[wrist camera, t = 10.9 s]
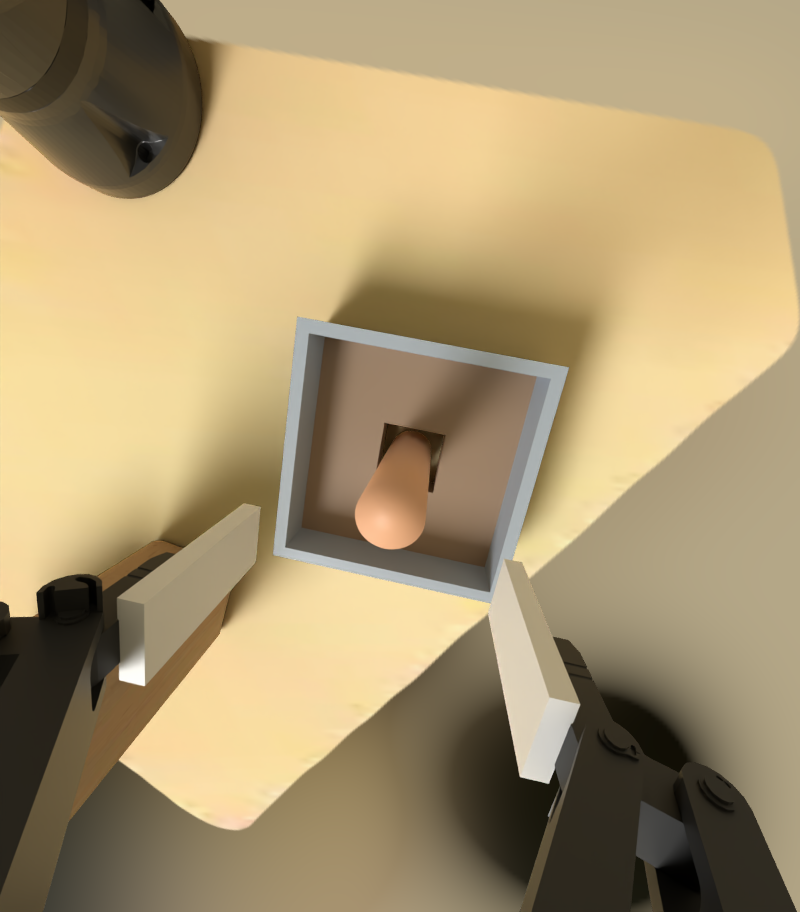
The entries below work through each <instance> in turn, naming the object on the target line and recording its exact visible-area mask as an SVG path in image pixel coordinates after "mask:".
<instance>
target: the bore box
mask: <svg viewBox="0 0 800 912" xmlns="http://www.w3.org/2000/svg"><path fill="white" fill-rule="evenodd" d="M568 369H569V367H564V366H559V365H554V364H548V363H543V362H538V361H532V360H527V359H521V358H516V357H511V356H505V355H500V354H495V353H489V352H484V351H479V350H473V349H468V348H462V347H457V346H452V345H446V344H441V343H436V342H430V341H425V340H420V339H414V338H409V337H403V336H398V335H393V334H387V333H382V332H377V331H371V330H366V329H361V328H355V327H350V326H344V325H339V324H334V323H328V322H323V321H318V320H312V319H307V318H302V317H297V325H296V335H295V344H294V354H293V364H292V374H291V383H290V393H289V403H288V413H287V423H286V432H285V442H284V452H283V462H282V471H281V481H280V491H279V501H278V510H277V520H276V530H275V540H274V549H273V555H275V556H279V557H284V558H288V559H293V560H297V561H302V562H306V563H311V564H315V565H320V566H324V567H329V568H333V569H338V570H342V571H347V572H351V573H356V574H360V575H365V576H369V577H374V578H378V579H383V580H387V581H392V582H397V583H401V584H406V585H410V586H415V587H419V588H424V589H428V590H433V591H437V592H442V593H446V594H451V595H455V596H460V597H464V598H469V599H473V600H478V601H482V602H487V603H491V601H492V598H493V594H494V591H495V588H496V584H497V581H498V577H499V574H500V570H501V567H502V563H503V560H504V559H508V560H512V559H513V556H514V553H515V549H516V546H517V542H518V539H519V536H520V532H521V529H522V525H523V522H524V519H525V515H526V512H527V508H528V505H529V502H530V498H531V495H532V492H533V488H534V485H535V481H536V478H537V475H538V471H539V468H540V464H541V461H542V458H543V454H544V451H545V447H546V444H547V441H548V437H549V434H550V430H551V427H552V424H553V420H554V417H555V414H556V410H557V407H558V403H559V400H560V397H561V393H562V390H563V386H564V383H565V380H566V376H567V373H568ZM388 424H393V425H398V426H403V427H408V428H413V429H418V430H423V431H428V432H433V433H438V434H443V435H444V437H443V442H442V446H441V451H440V455H439V460H438V465H437V469H436V474H435V478H434V483H433V482H429V487H428V498H427V510H426V521H425V526H424V529H423V532H422V533H421V535H420V536H419V538H418V539H417V540H416V541H415V542H413V543H412V544H410V545H409V546H407V547H404V548H400V549H384V548H380V547H378V546H375V545H373V544H372V543H370V542H369V541H367V540H366V539H365V538H364V537H363V535H362V534H361V533H360V531H359V529H358V527H357V524H356V520H355V509H356V505H357V502H358V500H359V499H360V497H361V495H362V493H363V492H364V490H365V488H366V487H367V485H368V483H369V481H370V480H371V478H372V476H373V474H374V473H375V471H376V469H377V468H378V466H379V464H380V462H381V460H382V454H383V448H384V443H385V437H386V431H387V426H388Z"/></svg>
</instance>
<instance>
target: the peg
mask: <svg viewBox="0 0 800 912" xmlns="http://www.w3.org/2000/svg"><path fill="white" fill-rule="evenodd" d="M430 463H431V445H430V442H429V441H428V439H427V438H426V437H425V436H424V435H423V434H421V433H419V432H416V431H405V432H402V433H400V434H399V435H397V436H396V437H395V439H394V440H393V442H392V443H391V445H390V447H389V449H388V450H387V452H386V454H385V456H384V457H383V459H382V461H381V462H380V464H379V466H378V468H377V469H376V471H375V473H374V474H373V476H372V478H371V480H370V481H369V483H368V485H367V487H366V488H365V490H364V492H363V493H362V495H361V497H360V499H359V500H358V502H357V505H356V509H355V520H356V524H357V527H358V529H359V531H360V533H361V534H362V535H363V537H364V538H365V539H366V540H367V541H369V542H370V543H372V544H373V545H375V546H378V547H380V548H384V549H400V548H404V547H407V546H409V545H410V544H412V543H413V542H415V541H416V540H417V539H418V538H419V536H420V535H421V533H422V532H423V529H424V526H425V521H426V510H427V498H428V487H429V475H430Z"/></svg>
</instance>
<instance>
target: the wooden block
mask: <svg viewBox="0 0 800 912" xmlns="http://www.w3.org/2000/svg"><path fill="white" fill-rule="evenodd" d="M182 549H183V548H182V547H179V546H176V545H173V544H171V543H168V542H165V541H159V540H157V541H153V542H151V543H149V544H148V545H146V546H145V547H143V548H141V549H140V550H138V551H137V552H135V553H134V554H132V555H130V556H129V557H127V558H126V559H124V560H122V561H121V562H119V563H118V564H116V565H114V566H113V567H111V568H110V569H108V570H107V571H105V572H103V573H102V574H100V575H99V576H97V577H99V578H100V579H101V580H102V590H103V591H104V590H105V589H107V588H108V587H110V586H111V585H113V584H114V583H116V582H117V581H118V580H120V579H121V578H123V577H124V576H127V575H128V574H129V573H130V572H131V571H133V570H134V569H137V568H138V567H139V566H140V565H141V564H143V563H144V562H146V561H147V560H149V559H150V558H152V557H155V556H158V555H160V554H163V553H165V552H169V553H173V554H176V553H178V552H179V551H180V550H182ZM229 595H230V592H229V593H228V594H227V595H226V596H225V597H224V598H223V599H222V601H221V602H220V603H219V604H218V605H217V606H216V607H215V608H214V610H213V611H212V612H211V613H210V614H209V615H208V616H207V617H206V618H205V620H204V621H203V622H202V623H201V624H200V625H199V626H198V627H197V629H196V630H195V631H194V632H193V633H192V634H191V635H190V636H189V638H188V639H187V640H186V641H185V642H184V643H183V644H182V645H181V646H180V648H179V649H178V650H177V651H176V652H175V653H174V654H173V655H172V657H171V658H170V659H169V660H168V661H167V662H166V663H165V664H164V665H163V667H162V668H161V669H160V670H159V671H158V672H157V673H156V674H155V676H154V677H153V678H152V679H151V680H150V681H149V682H148V683H147V684H146V686H142V685H137V684H133V683H129V682H125V681H121V680H119V664H118V665H117V666H116V667H115V668H114V669H113V670H112V671H111V672H110V673H109V674H108V675H107V676H106V690H105V694H104V697H103V701H102V704H101V708H100V711H99V715H98V718H97V722H96V725H95V729H94V733H93V736H92V740H91V743H90V747H89V750H88V754H87V757H86V761H85V765H84V768H83V772H82V775H81V779H80V782H79V786H78V789H77V793H76V796H75V800H74V804H73V807H72V811H71V814H70V818H69V820H70V819H71V818H72V817H73V816H74V814H75V813H76V812H77V810H78V809H79V808H80V807H81V806H82V804H83V803H84V802H85V801H86V799H87V798H88V797H89V796H90V794H91V793H92V792H93V791H94V789H95V788H96V787H97V785H98V784H99V783H100V782H101V781H102V779H103V778H104V777H105V776H106V774H107V773H108V772H109V771H110V769H111V768H112V767H113V766H114V765H115V763H116V762H117V761H118V760H119V758H120V757H121V756H122V755H123V753H124V752H125V751H126V750H127V748H128V747H129V746H130V745H131V743H132V742H133V741H134V740H135V738H136V737H137V736H138V735H139V733H140V732H141V731H142V730H143V729H144V727H145V726H146V725H147V724H148V722H149V721H150V720H151V719H152V717H153V716H154V715H155V714H156V712H157V711H158V710H159V709H160V707H161V706H162V705H163V704H164V702H165V701H166V700H167V699H168V697H169V696H170V695H171V694H172V692H173V691H174V690H175V689H176V688H177V686H178V685H179V684H180V683H181V681H182V680H183V679H184V678H185V676H186V675H187V674H188V673H189V671H190V670H191V669H192V668H193V666H194V665H195V664H196V663H197V661H198V660H199V659H200V658H201V656H202V655H203V654H204V653H205V651H206V650H207V649H208V648H209V647H210V645H211V644H212V643H213V642H214V640H215V639H216V638H217V637H218V635H219V634H220V630H221V626H222V622H223V618H224V614H225V610H226V607H227V603H228V599H229ZM33 617H39V615H38V614H37V615H35V616H33Z"/></svg>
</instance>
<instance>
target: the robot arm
mask: <svg viewBox="0 0 800 912" xmlns="http://www.w3.org/2000/svg"><path fill="white" fill-rule="evenodd" d="M201 115H202V94H201V84H200V79H199V74H198V69H197V66H196V62H195V59H194V56H193V53H192V51H191V48H190V46H189V44H188V42H187V40H186V38H185V36H184V34H183V32H182V31H181V29H180V27H179V26H178V24H177V23H176V21H175V20H174V18H173V17H172V16H171V15H170V13H169V12H168V11H167V10H166V8H165V7H164V6H163V4H162V3H161V2H160V1H159V0H0V116H1V117H2V118H3V119H4V120H5V121H6V122H8V123H9V124H10V125H11V126H12V127H13V128H14V129H15V130H16V131H17V132H18V133H19V134H21V135H22V136H23V137H24V138H25V139H26V140H27V141H28V142H29V143H30V144H31V145H33V146H34V147H35V148H36V149H37V150H38V151H39V152H40V153H41V154H42V155H44V156H45V157H46V158H47V159H48V160H49V161H50V162H51V163H52V164H53V165H55V166H56V167H57V168H58V169H60V170H61V171H62V172H64V173H65V174H67V175H68V176H70V177H71V178H73V179H75V180H77V181H79V182H81V183H83V184H85V185H87V186H89V187H91V188H93V189H95V190H97V191H99V192H101V193H103V194H106V195H109V196H113V197H117V198H126V199H133V198H141V197H145V196H149V195H152V194H154V193H156V192H158V191H160V190H162V189H163V188H165V187H166V186H168V185H169V184H170V183H171V182H172V181H173V180H174V179H175V178H176V177H177V176H178V175H179V174H180V173H181V172H182V170H183V169H184V167H185V166H186V164H187V162H188V161H189V159H190V157H191V155H192V153H193V150H194V148H195V145H196V142H197V138H198V135H199V130H200V124H201ZM260 509H261V507H259V506H255V505H250V504H245V503H243V504H242V505H241V506H239V507H238V508H237V509H235V510H234V511H233V512H231V513H230V514H229V515H227V516H226V517H225V518H223V519H222V520H221V521H219V522H218V523H217V524H215V525H214V526H213V527H211V528H210V529H209V530H207V531H206V532H205V533H203V534H202V535H201V536H199V537H198V538H196V539H195V540H194V541H192V542H191V543H190V544H188V545H187V546H186V547H184V548H183V549H182V550H180V551H179V552H178V553H176V554H173V553H169V552H165V553H163V554H160V555H158V556H155V557H152V558H150V559H149V560H147V561H146V562H144V563H143V564H141V565H140V566H139V567H138V568H137V569H134V570H133V571H131V572H130V573H129V574H128V575H127V576H124V577H123V578H121V579H120V580H118V581H117V582H116V583H114V584H113V585H111V586H110V587H108V588H107V589H105V590H104V591H103V590H102V580H101V579H100V578H99V577H97V576H93V575H89V574H77V575H72V576H66V577H63V578H60V579H57V580H54V581H52V582H50V583H48V584H46V585H44V586H43V587H42V588H41V589H40V590H39V591H38V592H37V593H36V595H37V605H38V615H39V617H10V613H9V606H8V605H7V604H5V603H4V602H0V912H43V910H44V906H45V903H46V899H47V896H48V892H49V889H50V885H51V882H52V878H53V875H54V871H55V867H56V864H57V860H58V857H59V853H60V850H61V846H62V843H63V839H64V835H65V832H66V828H67V825H68V821H69V818H70V814H71V811H72V807H73V804H74V800H75V796H76V793H77V789H78V786H79V782H80V779H81V775H82V772H83V768H84V765H85V761H86V757H87V754H88V750H89V747H90V743H91V740H92V736H93V733H94V729H95V725H96V722H97V718H98V715H99V711H100V708H101V704H102V701H103V697H104V694H105V690H106V676H107V675H108V674H109V673H110V672H111V671H112V670H113V669H114V668H115V667H116V666H117V665H118V664H119V680H121V681H125V682H129V683H133V684H137V685H142V686H146V684H147V683H148V682H149V681H150V680H151V679H152V678H153V677H154V676H155V674H156V673H157V672H158V671H159V670H160V669H161V668H162V667H163V665H164V664H165V663H166V662H167V661H168V660H169V659H170V658H171V657H172V655H173V654H174V653H175V652H176V651H177V650H178V649H179V648H180V646H181V645H182V644H183V643H184V642H185V641H186V640H187V639H188V638H189V636H190V635H191V634H192V633H193V632H194V631H195V630H196V629H197V627H198V626H199V625H200V624H201V623H202V622H203V621H204V620H205V618H206V617H207V616H208V615H209V614H210V613H211V612H212V611H213V610H214V608H215V607H216V606H217V605H218V604H219V603H220V602H221V601H222V599H223V598H224V597H225V596H226V595H227V594H228V593H229V592H230V591H231V589H232V588H233V587H234V586H235V585H236V584H237V583H238V582H239V580H240V579H241V578H242V577H243V576H244V575H245V574H246V573H247V571H248V570H249V569H250V568H251V567H252V566H253V565H254V564H255V563H256V556H257V544H258V532H259V521H260ZM488 616H489V621H490V625H491V631H492V636H493V641H494V646H495V651H496V656H497V661H498V667H499V672H500V677H501V681H502V687H503V692H504V697H505V702H506V707H507V712H508V717H509V723H510V727H511V732H512V738H513V743H514V747H515V753H516V758H517V763H518V768H519V774H520V777H523V778H527V779H531V780H536V781H540V782H544V783H549V781H550V779H551V777H552V774H553V772H554V769H555V768H556V772H557V775H558V779H559V783H560V788H559V790H558V793H557V795H556V798H555V800H554V802H553V805H552V807H551V810H550V812H549V814H548V816H549V821H548V824H547V827H546V830H545V833H544V836H543V839H542V843H541V846H540V849H539V852H538V856H537V859H536V862H535V865H534V868H533V871H532V875H531V878H530V881H529V884H528V887H527V890H526V894H525V897H524V900H523V903H522V906H521V909H520V912H630V908H631V899H632V888H633V878H634V867H635V857H636V856H638V857H639V858H641V859H643V860H644V863H645V869H646V875H647V881H648V886H649V893H650V899H651V905H652V911H653V912H797V911H796V909H795V906H794V904H793V902H792V900H791V897H790V895H789V893H788V890H787V888H786V886H785V884H784V881H783V879H782V877H781V875H780V872H779V870H778V868H777V866H776V863H775V861H774V859H773V857H772V855H771V852H770V850H769V848H768V845H767V843H766V841H765V838H764V836H763V834H762V832H761V829H760V827H759V825H758V823H757V820H756V818H755V816H754V814H753V811H752V810H751V808H750V806H749V805H748V803H747V801H746V800H745V798H744V797H743V796H742V795H741V793H740V792H739V791H738V790H737V789H736V788H735V787H734V786H733V785H732V784H731V783H730V782H729V781H727V780H726V779H725V778H724V777H722V776H721V775H720V774H719V773H717V772H715V771H714V770H712V769H710V768H708V767H706V766H704V765H701V764H698V763H686V764H685V765H684V766H683V768H682V769H681V771H680V773H678V772H676V771H674V770H672V769H670V768H668V767H666V766H664V765H662V764H660V763H658V762H656V761H654V760H652V759H651V758H649V757H647V756H645V755H644V754H643V751H642V750H641V748H640V746H639V744H638V743H637V741H636V740H635V739H634V738H633V737H632V736H631V734H630V733H629V732H628V731H626V730H625V729H624V728H623V727H621V726H620V725H619V724H617V723H615V722H613V720H612V718H611V716H610V714H609V712H608V710H607V708H606V706H605V704H604V702H603V700H602V697H601V695H600V693H599V691H598V689H597V687H596V685H595V683H594V681H592V677H591V674H590V672H589V670H588V669H587V666H586V664H585V662H584V660H583V658H582V656H581V654H580V652H579V651H578V650H577V649H576V648H575V647H574V646H573V645H572V644H571V642H570V641H568V640H565V639H561V638H556V637H552V634H551V632H550V629H549V627H548V624H547V622H546V620H545V617H544V615H543V613H542V610H541V607H540V605H539V603H538V600H537V598H536V595H535V593H534V590H533V588H532V586H531V583H530V581H529V578H528V576H527V573H526V571H525V569H524V566H523V564H522V562H517V561H513V560H508V559H504V560H503V563H502V567H501V570H500V574H499V577H498V581H497V584H496V588H495V591H494V594H493V598H492V601H491V605H490V608H489V612H488Z"/></svg>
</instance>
